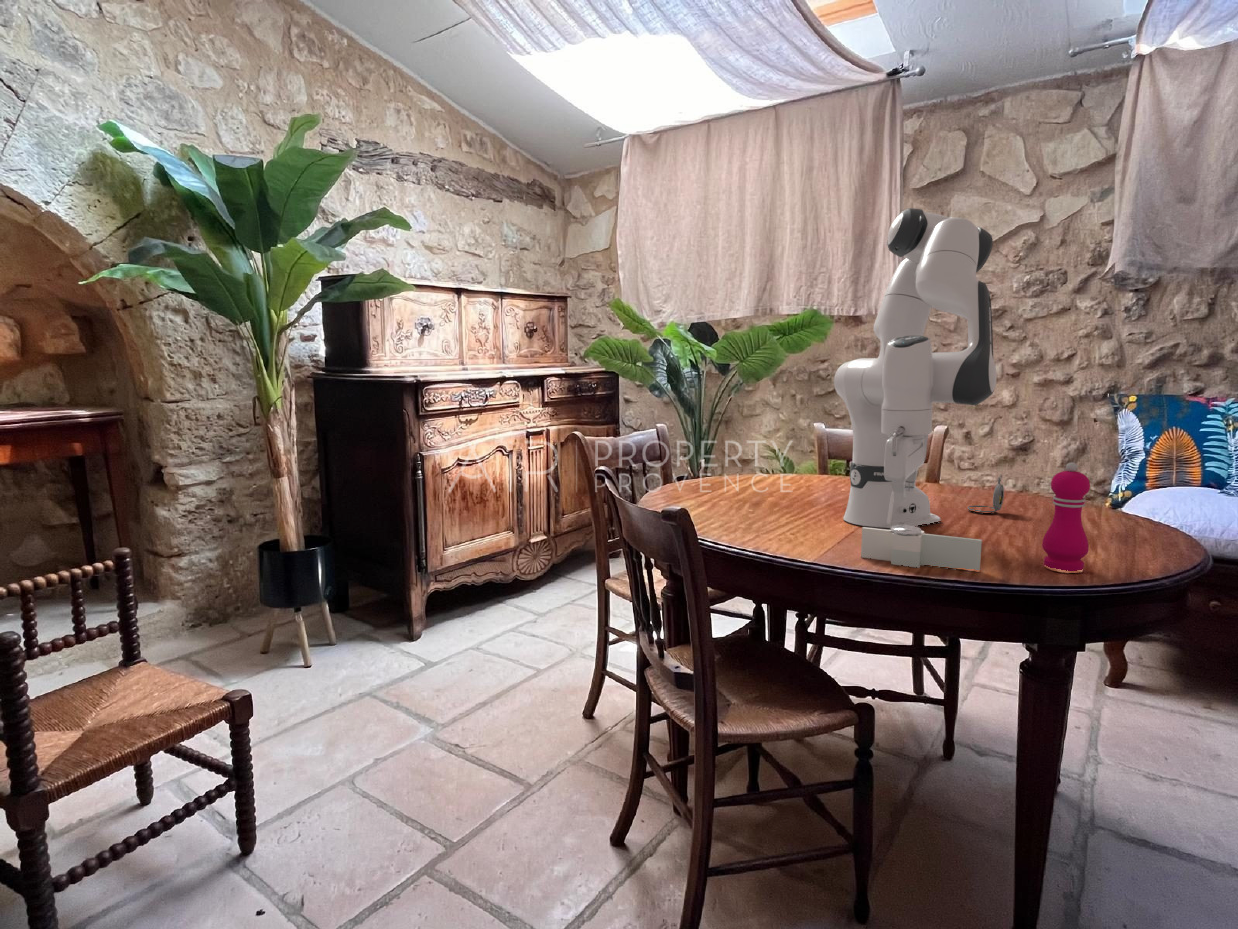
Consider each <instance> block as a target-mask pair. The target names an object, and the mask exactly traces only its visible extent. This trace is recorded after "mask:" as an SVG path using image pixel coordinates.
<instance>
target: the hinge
mask: <svg viewBox="0 0 1238 929" xmlns="http://www.w3.org/2000/svg"><path fill="white" fill-rule="evenodd" d="M982 542H983V540H982V539H978V538H971V537H970V538H969V537H961V536H950V535H942V534H941V535H940V534H931V533H925V531H924V530H921V534H920V535H917V536H904V535H897V534H894V533H892V532H891V529H887V528H877V527H868V526H862V527H861V543H860V544H861V550H860V551H861V552H860V558H861V559H862V558H863V559H870V558H871V560H877V561H884V562H885V561H887V562H890V564H891V565H895V566H901V565H903V566H902V567H908V566H909V567H911V568H916V567H917V569H918V568H919V569H920V567H921V566H924V565H931V566H930V567H932V566H939V567H938V568H940V567H949V568H965V569H975V570H980V571H981V559H982V558H981V557H982V556H981V555H982V545H983V544H982Z"/></svg>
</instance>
